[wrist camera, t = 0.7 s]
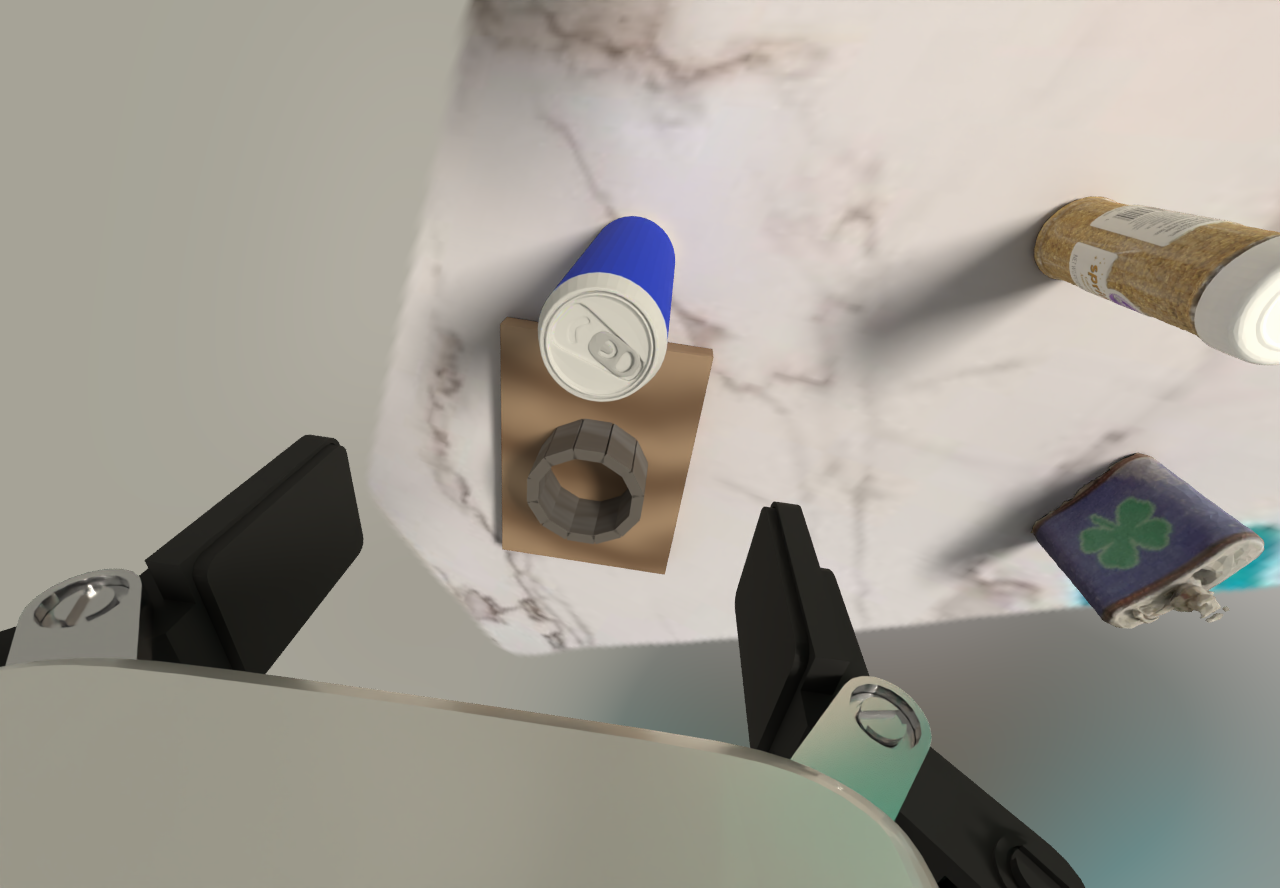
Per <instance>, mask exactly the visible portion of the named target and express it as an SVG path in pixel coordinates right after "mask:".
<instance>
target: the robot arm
mask: <svg viewBox="0 0 1280 888" xmlns="http://www.w3.org/2000/svg"><path fill="white" fill-rule="evenodd" d="M362 546H363V534H362V528H361V523H360V519H359V513H358V508H357V503H356V498H355V493H354V487H353V482H352V477H351V472H350V468H349V462H348V457H347V452H346V449H345V448H344V447H343V446H340V444H339V442H338V441H337V440H336V439H334V438H328V437H322V436H315V435H305V436H303V437H301V438H300V439H299V440H298V441H296V442H295V443H294V444H292V445H291V446H290V447H289V448H288V449H286V450H285V451H284V452H282V453H281V454H280V455H278V456H277V457H276V458H275V459H273V460H272V461H271V462H269V463H268V464H267V465H266V466H264V467H263V468H262V469H261V470H259V471H258V472H257V473H255V474H254V475H253V476H252V477H251V478H249V479H248V480H247V481H245V482H244V483H243V484H241V485H240V486H239V487H238V488H237V489H235V490H234V491H233V492H231V493H230V494H229V495H227V496H226V497H225V498H224V499H222V500H221V501H220V502H219V503H217V504H216V505H215V506H213V507H212V508H211V509H210V510H208V511H207V512H206V513H205V514H203V515H202V516H201V517H199V518H198V519H197V520H196V521H194V522H193V523H192V524H191V525H189V526H188V527H187V528H185V529H184V530H183V531H182V532H180V533H179V534H178V535H176V536H175V537H174V538H173V539H171V540H170V541H169V542H167V543H166V544H165V545H164V546H162V547H161V548H160V549H159V550H157V551H156V552H155V553H153V555H151V556H150V557H148V558H147V559H146V560H145V562H146V564H147V566H148V569H147V570H146V571H145V572H143V573H142V574H141V575H139V576H138V575H136V574H135V573H134V572H132V571H128V570H124V569H104V570H98V571H92V572H88V573H85V574H81V575H78V576H75V577H72V578H69V579H67V580H65V581H63V582H61V583H59V584H57V585H54V586H52V587H51V588H49V589H47V590H46V591H44V592H43V593H41V594H40V595H38V596H37V597H36V598H35V599H33V601H32V602H30V603H29V604H28V605H27V606H26V607H25V609H24V610H23V612H22V614H21V616H20V617H19V620H18V624H17V626H16V627H13V628H10V629H7V630H4V631H1V632H0V888H1085V886H1084V884H1083V883H1082V881H1081V879H1080V878H1079V877H1078V875H1077V874H1076V873H1075V871H1074V870H1073V869H1072V867H1071V866H1070V865H1069V863H1068V862H1067V861H1066V860H1065V859H1064V858H1063V857H1062V856H1061V855H1060V854H1059V853H1058V852H1057V851H1056V850H1055V849H1054V848H1052V846H1051V845H1049V844H1048V843H1047V842H1046V841H1045V840H1043V839H1042V838H1041V837H1040V836H1038V835H1037V834H1036V833H1035V832H1034V831H1032V830H1031V829H1030V828H1029V827H1027V826H1026V825H1025V824H1024V823H1023V822H1021V821H1020V820H1019V819H1018V818H1016V817H1015V816H1014V815H1013V814H1012V813H1010V812H1009V811H1008V810H1007V809H1005V808H1004V807H1003V806H1002V805H1001V804H999V803H998V802H997V801H996V800H995V799H993V798H992V797H991V796H990V795H988V794H987V793H986V792H985V791H984V790H982V789H981V788H980V787H979V786H978V785H976V784H975V783H974V782H973V781H971V780H970V779H969V778H968V777H967V776H965V775H964V774H963V773H962V772H960V771H959V770H958V769H957V768H956V767H954V766H953V765H952V764H951V763H950V762H948V761H947V760H946V759H944V758H943V757H942V756H941V755H940V754H939V753H937V752H936V751H935V750H934V749H932V748H931V747H930V743H931V739H932V736H931V731H930V725H929V723H928V721H927V719H926V717H925V715H924V713H923V711H922V710H921V709H920V707H919V706H918V705H917V704H916V702H915V701H914V700H913V699H912V698H911V697H910V696H909V695H907V694H906V693H905V692H904V691H903V690H901V689H900V688H898V687H897V686H895V685H893V684H892V683H890V682H888V681H885V680H882V679H879V678H876V677H870V676H869V674H868V671H867V668H866V665H865V662H864V659H863V656H862V653H861V650H860V647H859V645H858V642H857V639H856V636H855V633H854V630H853V627H852V624H851V621H850V618H849V616H848V613H847V610H846V607H845V604H844V601H843V598H842V595H841V592H840V589H839V587H838V584H837V581H836V578H835V576H834V574H833V572H832V571H831V570H830V569H825V568H820V566H819V562H818V559H817V556H816V553H815V550H814V547H813V544H812V540H811V537H810V534H809V531H808V528H807V525H806V522H805V518H804V515H803V512H802V509H801V507H800V506H799V505H795V504H788V503H781V502H773V503H772V504H771V507H763V508H762V510H761V513H760V516H759V520H758V523H757V526H756V529H755V533H754V536H753V539H752V542H751V546H750V549H749V552H748V555H747V559H746V562H745V565H744V568H743V572H742V575H741V578H740V581H739V585H738V588H737V591H736V597H735V613H736V622H737V631H738V640H739V648H740V658H741V668H742V677H743V686H744V694H745V704H746V713H747V723H748V731H749V741H750V748H747V747H742V746H738V745H733V744H728V743H724V742H719V741H714V740H707V739H701V738H696V737H690V736H684V735H678V734H672V733H665V732H660V731H653V730H648V729H642V728H635V727H628V726H622V725H615V724H608V723H602V722H595V721H588V720H581V719H574V718H568V717H561V716H555V715H548V714H541V713H534V712H527V711H521V710H514V709H507V708H501V707H493V706H486V705H480V704H473V703H466V702H459V701H452V700H445V699H438V698H430V697H424V696H417V695H410V694H403V693H396V692H389V691H382V690H375V689H368V688H361V687H353V686H346V685H339V684H331V683H324V682H317V681H310V680H302V679H295V678H288V677H281V676H273V675H266V673H267V671H268V670H269V669H270V667H271V666H272V665H273V664H274V662H275V661H276V660H277V658H278V657H279V656H280V655H281V653H282V652H283V651H284V650H285V648H286V647H287V646H288V644H289V643H290V642H291V641H292V639H293V638H294V637H295V635H296V634H297V633H298V631H299V630H300V629H301V627H302V626H303V625H304V624H305V623H306V621H307V620H308V619H309V617H310V616H311V615H312V614H313V612H314V611H315V610H316V608H317V607H318V606H319V604H320V603H321V602H322V601H323V599H324V598H325V597H326V596H327V594H328V593H329V592H330V591H331V589H332V588H333V587H334V585H335V584H336V583H337V582H338V580H339V579H340V578H341V576H342V575H343V574H344V573H345V571H346V570H347V568H348V567H349V566H350V565H351V564H352V562H353V561H354V560H355V558H356V557H357V556H358V555H359V553H360V551H361V549H362Z"/></svg>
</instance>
